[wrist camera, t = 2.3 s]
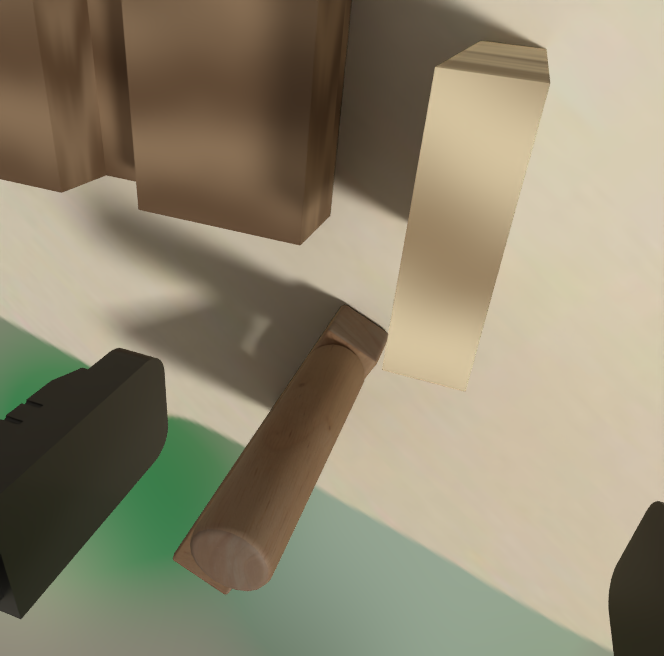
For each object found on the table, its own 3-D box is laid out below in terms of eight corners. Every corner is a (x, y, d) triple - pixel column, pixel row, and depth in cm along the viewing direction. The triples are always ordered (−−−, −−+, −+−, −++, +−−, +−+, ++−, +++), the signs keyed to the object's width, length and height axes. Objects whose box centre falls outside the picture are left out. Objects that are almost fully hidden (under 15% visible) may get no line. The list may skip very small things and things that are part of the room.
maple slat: (481, 40, 27) (435, 67, 15) (546, 48, 26) (550, 83, 15) (439, 238, 32) (381, 369, 20) (493, 249, 31) (465, 391, 20)
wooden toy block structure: (274, 404, 42) (126, 625, 27) (344, 300, 36) (204, 510, 21) (315, 432, 42) (190, 667, 27) (392, 333, 36) (287, 565, 21)
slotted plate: (-60, -113, 31) (-151, -131, 27) (359, -75, 26) (325, -90, 22) (-6, 146, 39) (-72, 163, 34) (330, 215, 33) (300, 245, 29)
